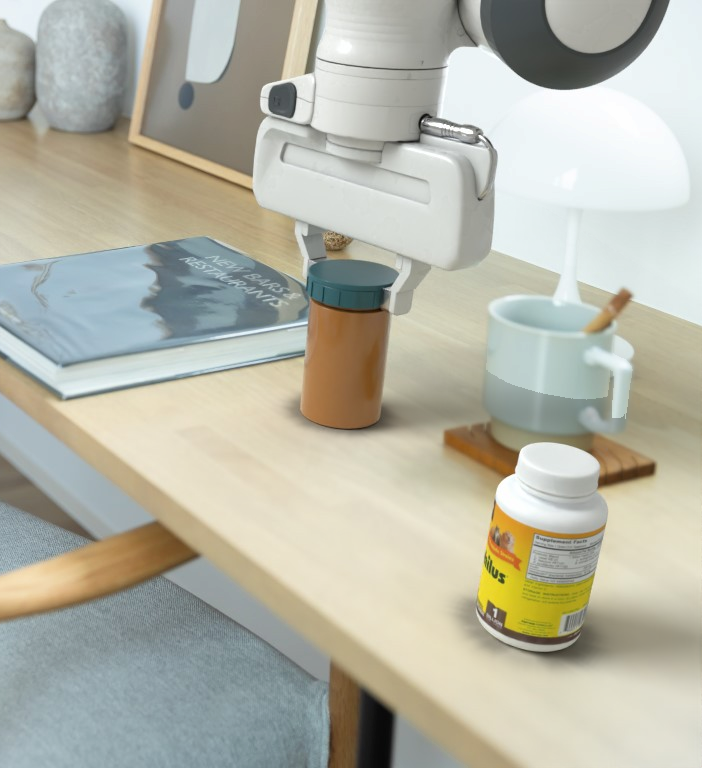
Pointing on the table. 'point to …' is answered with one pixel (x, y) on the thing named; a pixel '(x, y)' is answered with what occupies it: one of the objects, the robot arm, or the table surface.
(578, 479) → the supplement bottle
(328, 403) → the jar
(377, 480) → the table surface
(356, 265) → the lid
